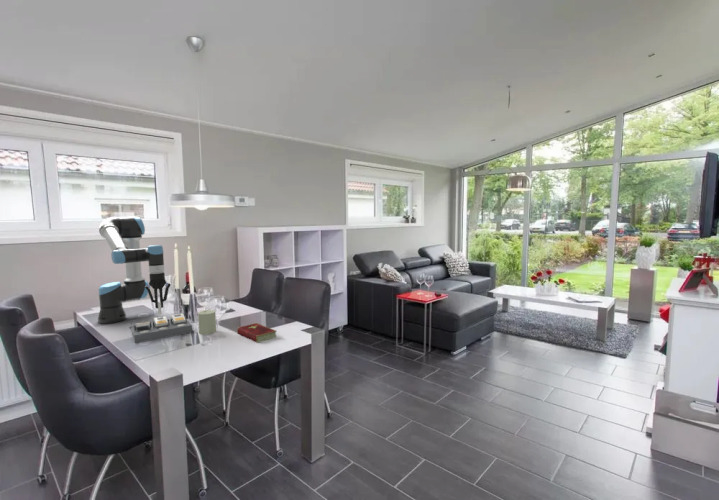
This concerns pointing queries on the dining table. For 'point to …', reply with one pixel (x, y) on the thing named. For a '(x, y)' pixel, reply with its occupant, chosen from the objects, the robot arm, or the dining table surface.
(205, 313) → the can
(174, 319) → the rocker
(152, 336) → the rocker switch panel
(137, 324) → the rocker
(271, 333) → the hardcover book
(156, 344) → the dining table surface
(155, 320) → the rocker middle
